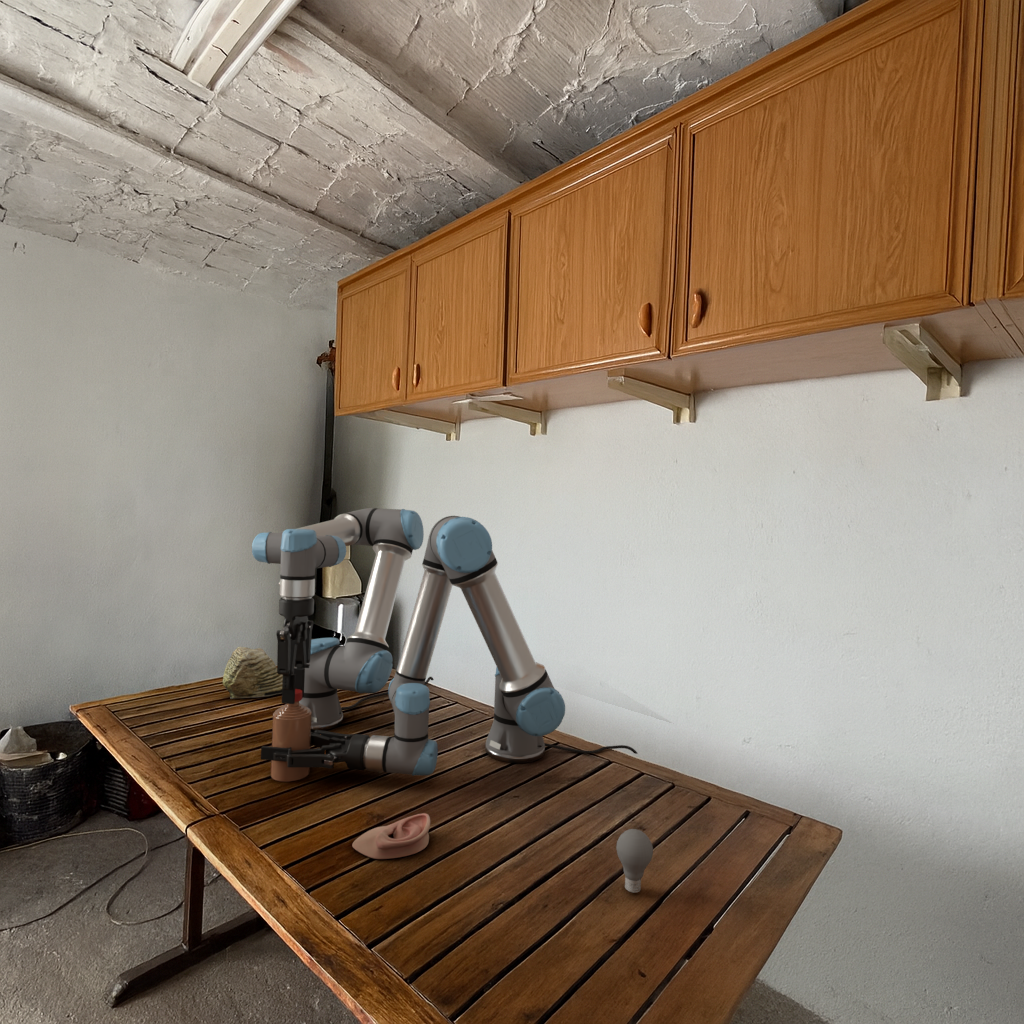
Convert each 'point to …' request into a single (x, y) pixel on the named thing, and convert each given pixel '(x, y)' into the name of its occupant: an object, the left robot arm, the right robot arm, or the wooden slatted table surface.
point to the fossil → (251, 674)
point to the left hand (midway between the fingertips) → (292, 699)
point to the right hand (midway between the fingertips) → (271, 744)
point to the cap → (298, 695)
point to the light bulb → (634, 857)
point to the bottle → (291, 738)
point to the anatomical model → (395, 838)
